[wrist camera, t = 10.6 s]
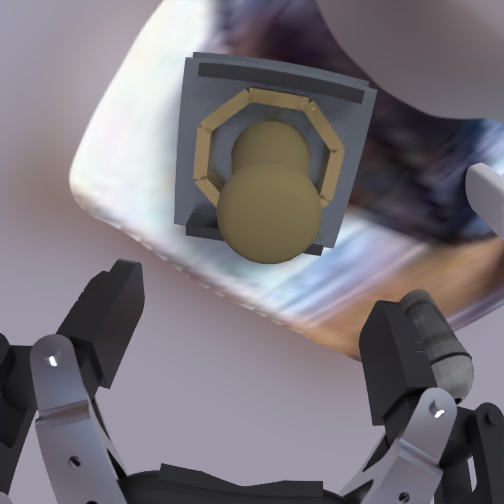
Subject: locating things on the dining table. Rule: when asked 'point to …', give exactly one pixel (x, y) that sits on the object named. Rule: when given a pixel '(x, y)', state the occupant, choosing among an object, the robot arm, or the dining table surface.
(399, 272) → the dining table surface
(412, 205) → the dining table surface
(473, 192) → the eye dropper bottle
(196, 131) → the grey peg socket base
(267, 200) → the cork
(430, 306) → the beverage cup
